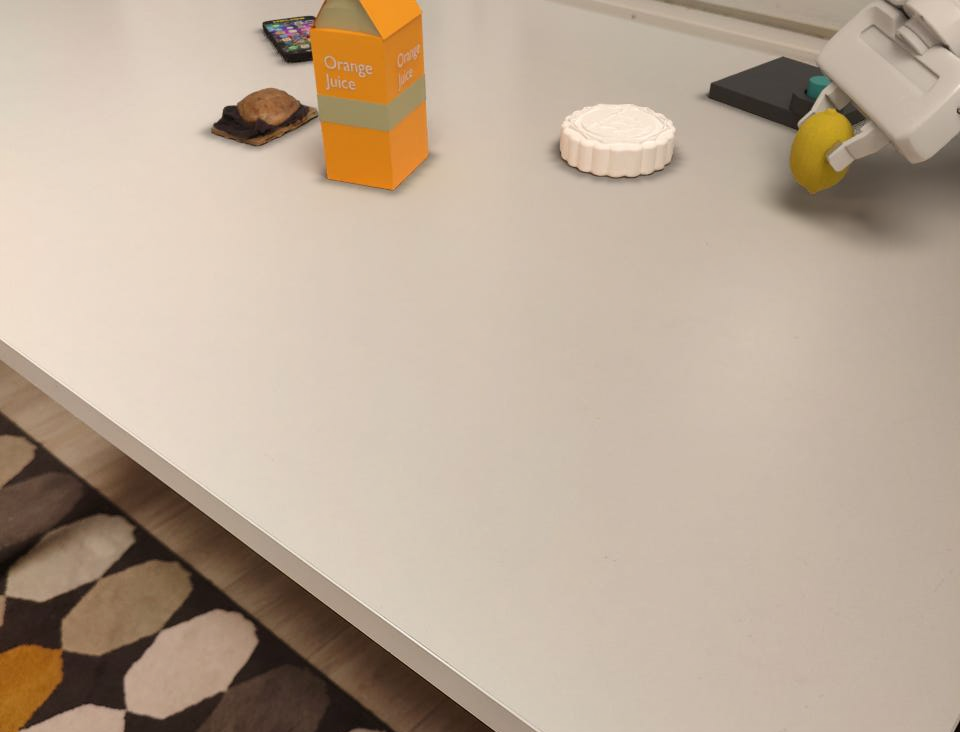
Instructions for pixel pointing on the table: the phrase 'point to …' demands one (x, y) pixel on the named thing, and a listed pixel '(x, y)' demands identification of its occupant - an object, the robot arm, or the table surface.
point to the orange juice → (370, 89)
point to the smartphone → (291, 36)
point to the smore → (262, 117)
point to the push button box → (775, 91)
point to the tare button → (817, 86)
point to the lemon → (818, 150)
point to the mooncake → (617, 140)
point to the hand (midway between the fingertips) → (815, 148)
